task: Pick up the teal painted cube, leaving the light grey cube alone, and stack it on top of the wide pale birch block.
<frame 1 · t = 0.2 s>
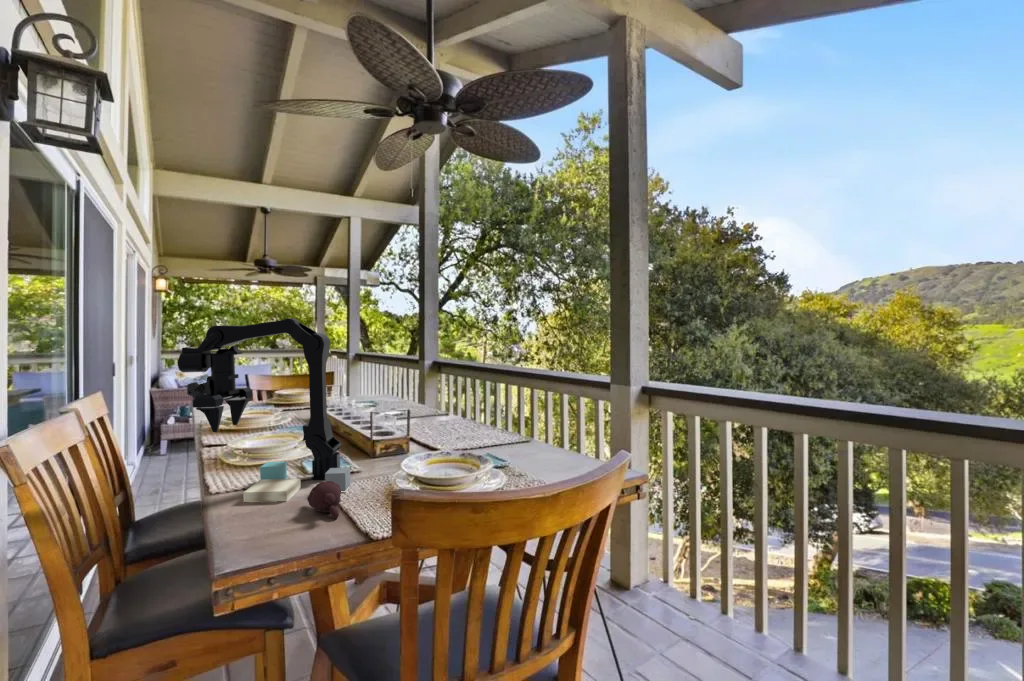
hand: (225, 428, 142), 14 cm above the table, tool pointing down, fingers open, 9 cm apart
birch block: (273, 497, 129), on the table
teal cube: (273, 482, 140), on the table
light grey cube: (338, 489, 133), on the table
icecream: (325, 511, 118), on the table
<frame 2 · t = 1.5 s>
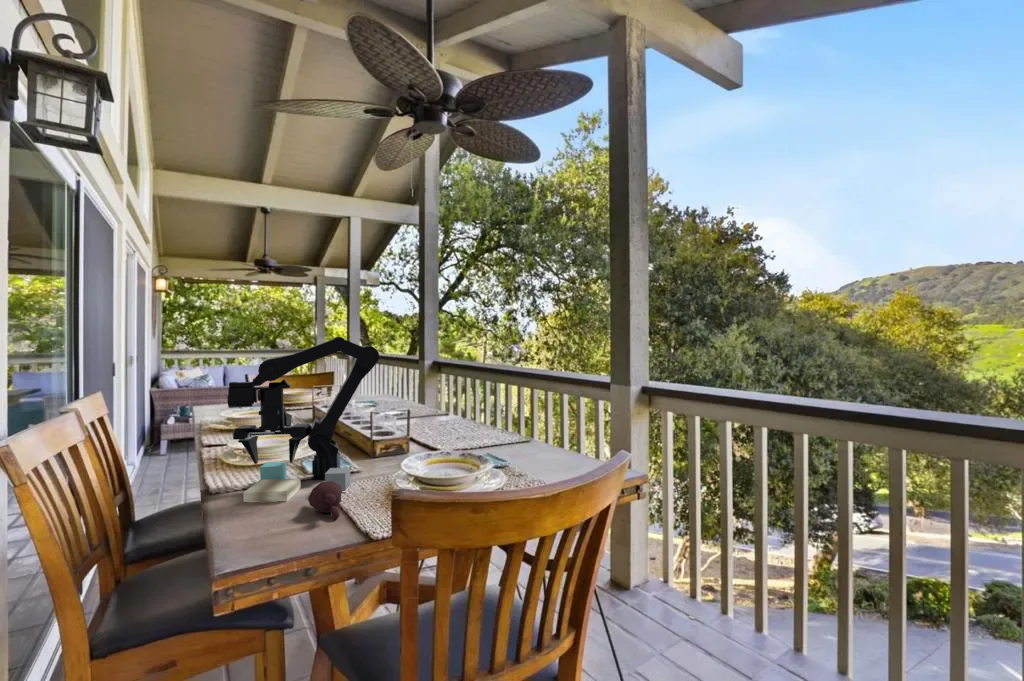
hand: (274, 463, 140), 5 cm above the table, tool pointing down, fingers open, 9 cm apart
nothing on the table moved.
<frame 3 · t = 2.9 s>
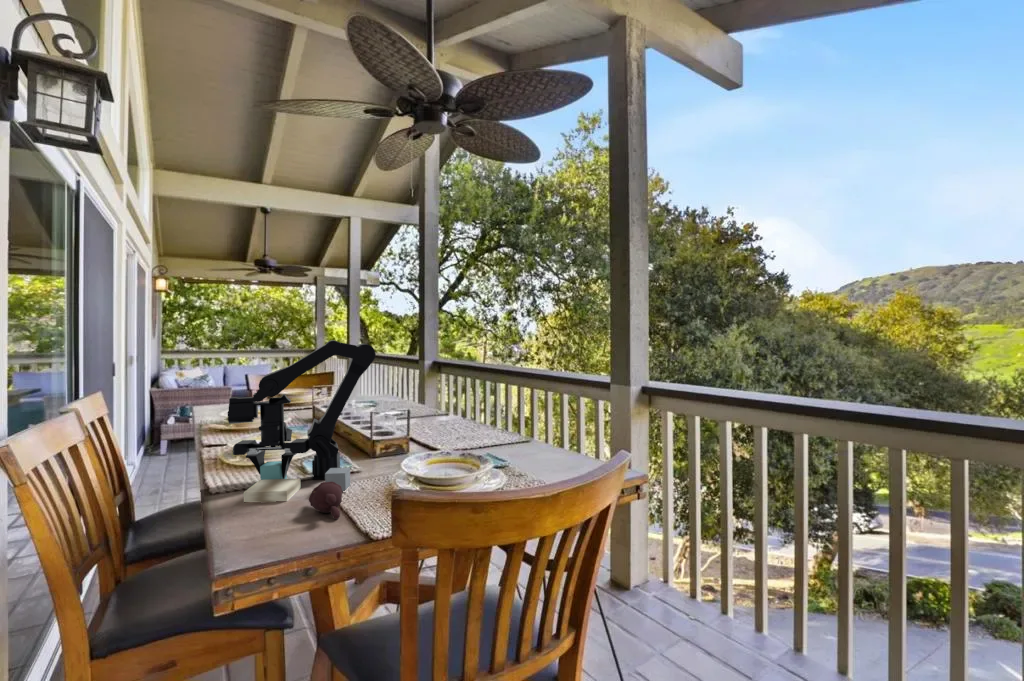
hand: (273, 478, 140), 1 cm above the table, tool pointing down, fingers closed on teal cube, 5 cm apart
teal cube: (273, 482, 140), on the table, touching gripper
everything else where it was.
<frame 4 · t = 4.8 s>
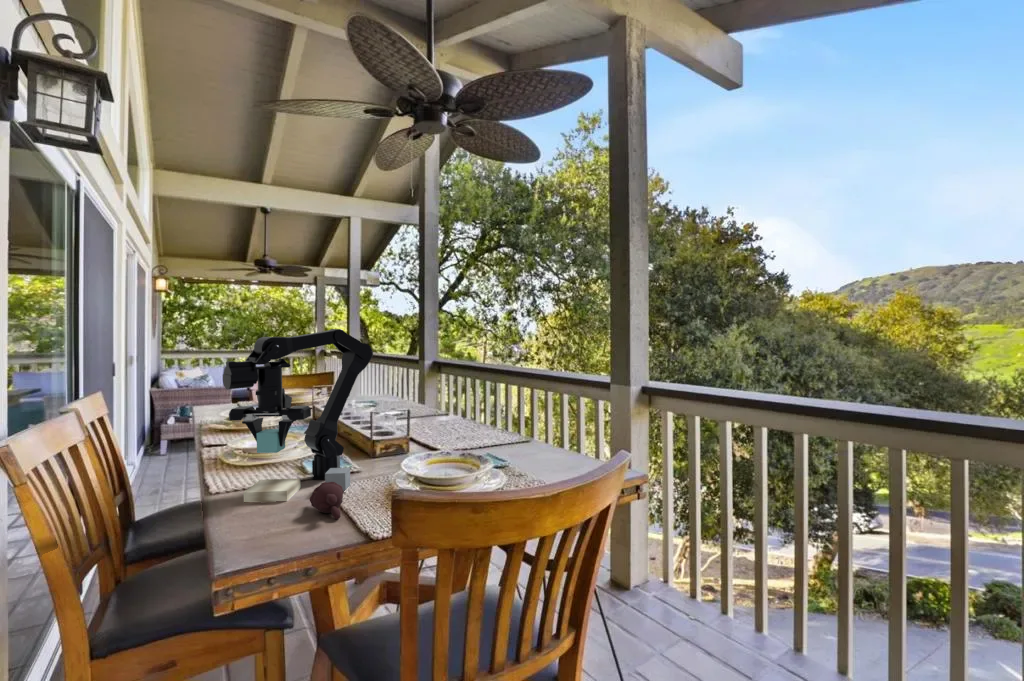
hand: (271, 446, 134), 11 cm above the table, tool pointing down, fingers closed on teal cube, 5 cm apart
teal cube: (271, 450, 134), point 10 cm above the table, touching gripper
everything else where it was.
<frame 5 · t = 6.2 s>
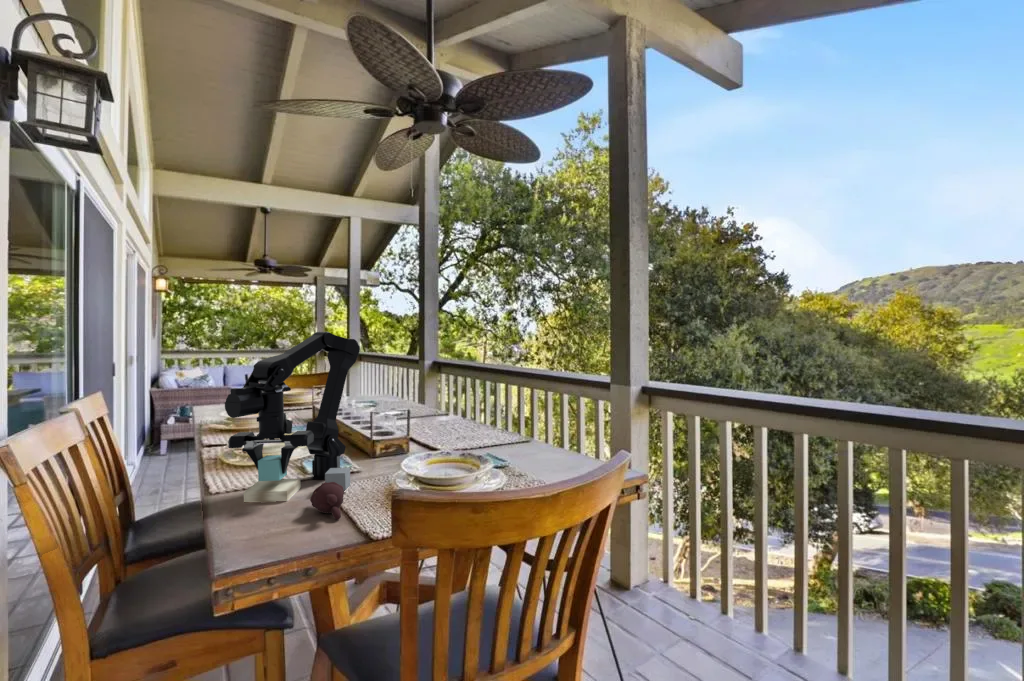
hand: (273, 473, 129), 5 cm above the table, tool pointing down, fingers closed on teal cube, 5 cm apart
teal cube: (273, 477, 129), point 4 cm above the table, touching gripper
when the fingers open (5 cm above the table, at t = 7.0 s): teal cube drops 2 cm, resting on birch block.
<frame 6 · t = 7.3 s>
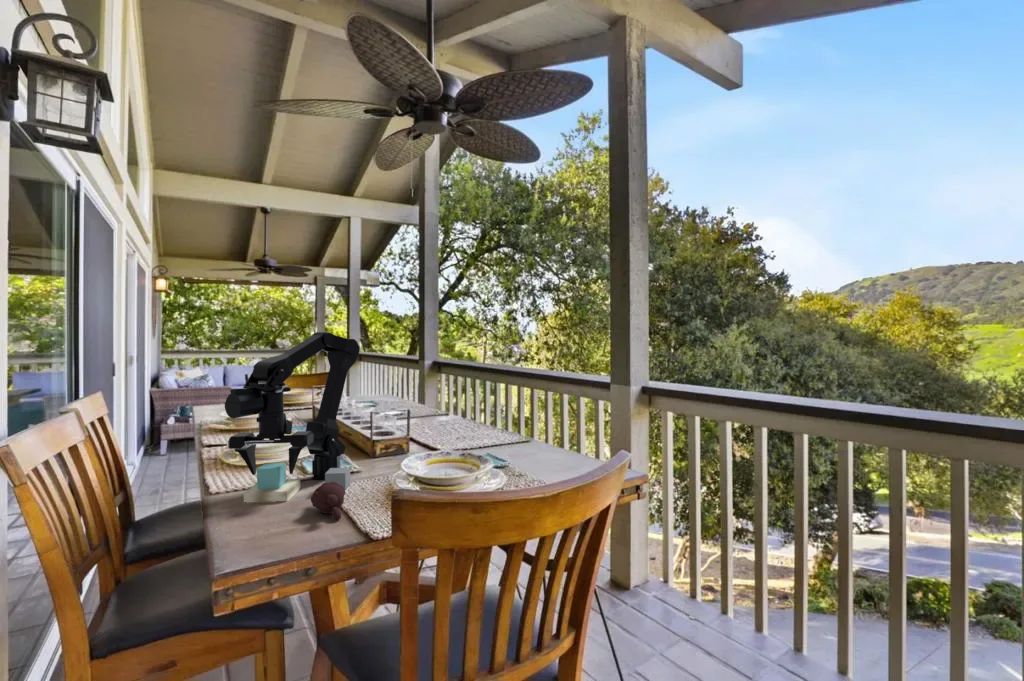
hand: (272, 474, 129), 5 cm above the table, tool pointing down, fingers open, 9 cm apart
birch block: (273, 497, 129), on the table, touching teal cube
teal cube: (272, 485, 129), point 2 cm above the table, touching birch block
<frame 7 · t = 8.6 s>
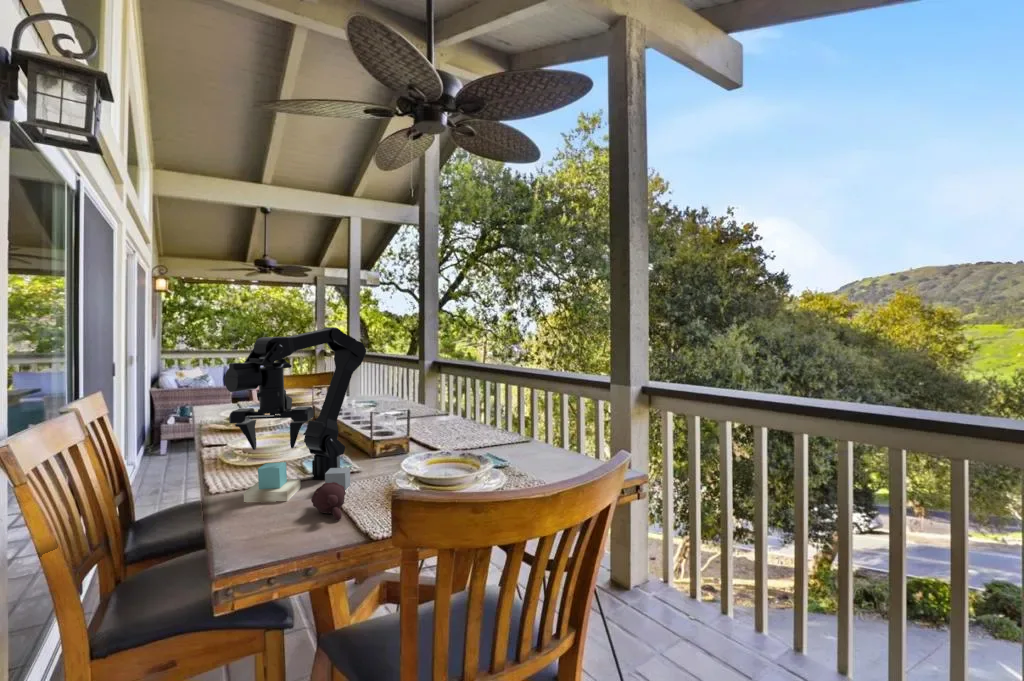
hand: (273, 448, 131), 11 cm above the table, tool pointing down, fingers open, 9 cm apart
birch block: (273, 497, 129), on the table
teal cube: (273, 485, 129), point 2 cm above the table
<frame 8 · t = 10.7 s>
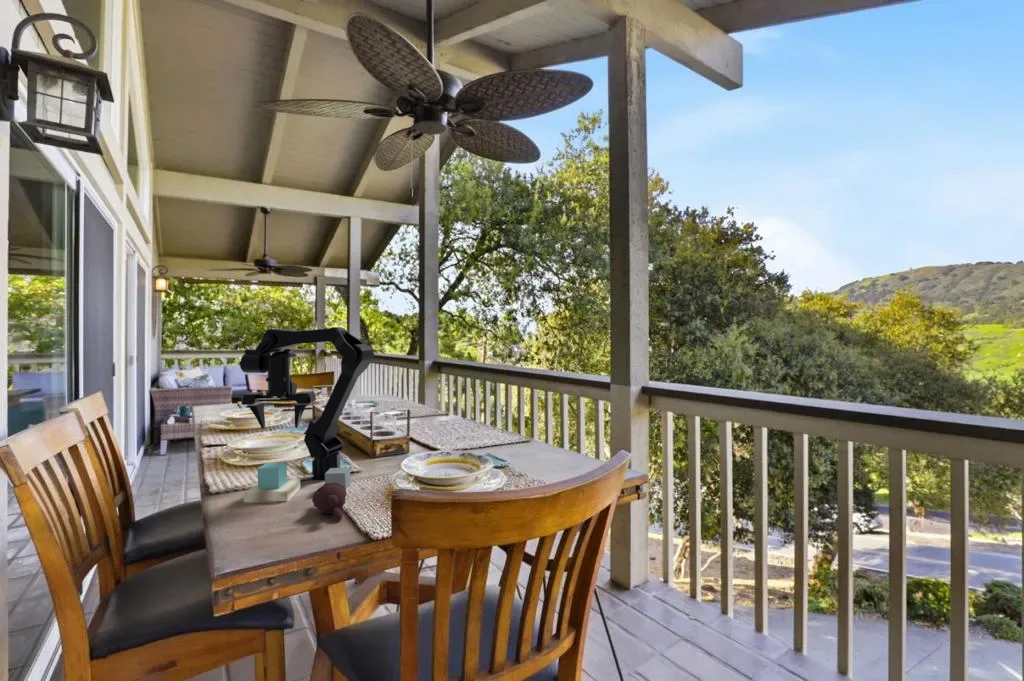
hand: (280, 428, 147), 13 cm above the table, tool pointing down, fingers open, 9 cm apart
at the end: teal cube 0.0 cm off-centre on the birch block, point 3.0 cm above the birch block's base; teal cube tilted 0°; light grey cube moved 0.1 cm from its start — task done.
